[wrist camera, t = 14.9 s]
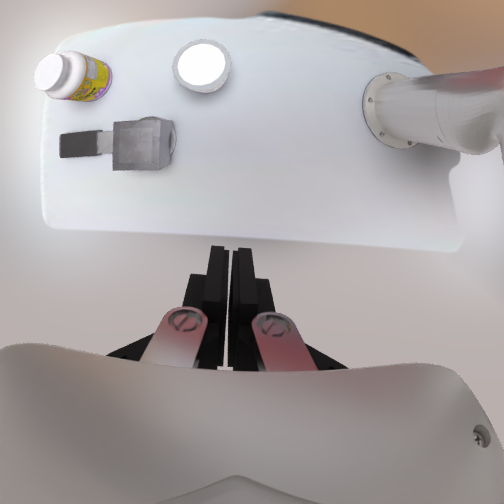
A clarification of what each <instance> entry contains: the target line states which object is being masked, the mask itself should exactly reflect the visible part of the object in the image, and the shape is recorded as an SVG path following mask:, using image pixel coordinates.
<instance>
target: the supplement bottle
mask: <svg viewBox="0 0 504 504" xmlns="http://www.w3.org/2000/svg"><path fill="white" fill-rule="evenodd" d="M111 79H112V73H111V70H110V68H109V66H108V65H107V64H106V63H104V62H102V61H99V60H97V59H94V58H92V57H89V56H87V55H84V54H81V53H79V52H76V51H66V52H63V53H61V54H50V55H48V56H46V57H45V58H44V59H42V61H41V62H40V63H39V64H38V66H37V68H36V71H35V74H34V84H35V86H36V88H37V89H38V90H41V91H45V93H46V94H47V95H48V96H49V97H51V98H53V99H62V100H76V101H94V100H96V99H98V98H100V97H101V96H102V95H103V94H104V93H105V92H106V91H107V90H108V88H109V86H110V83H111Z"/></svg>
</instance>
